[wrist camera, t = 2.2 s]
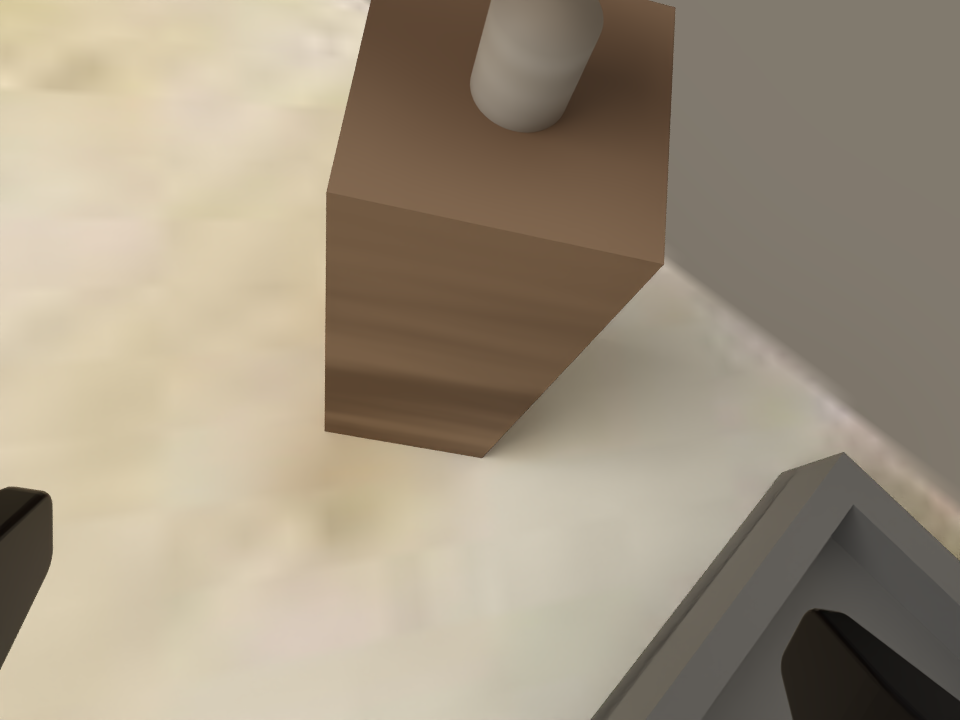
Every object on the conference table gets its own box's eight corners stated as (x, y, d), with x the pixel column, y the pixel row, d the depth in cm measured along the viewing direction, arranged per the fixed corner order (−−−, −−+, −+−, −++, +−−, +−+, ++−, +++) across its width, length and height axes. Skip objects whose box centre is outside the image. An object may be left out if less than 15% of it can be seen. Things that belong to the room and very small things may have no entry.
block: (482, 458, 22) (718, 206, 9) (324, 431, 21) (326, 117, 8) (500, 315, 23) (722, -76, 10) (354, 286, 23) (396, -169, 10)
